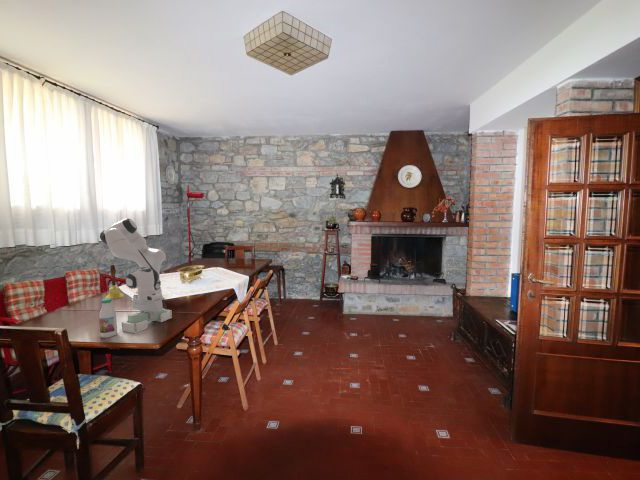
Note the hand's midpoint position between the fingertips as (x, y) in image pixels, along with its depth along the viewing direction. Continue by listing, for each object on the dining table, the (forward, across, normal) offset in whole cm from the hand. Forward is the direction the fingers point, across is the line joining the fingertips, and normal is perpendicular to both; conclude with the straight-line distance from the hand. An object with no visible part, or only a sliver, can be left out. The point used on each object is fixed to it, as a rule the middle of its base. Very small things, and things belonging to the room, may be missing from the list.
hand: (147, 318), depth 189 cm
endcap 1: (+4, 0, -9) cm, 10 cm away
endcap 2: (+4, 0, +9) cm, 10 cm away
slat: (+2, 0, 0) cm, 2 cm away
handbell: (+4, -73, +35) cm, 81 cm away
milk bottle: (+4, -6, -20) cm, 21 cm away
